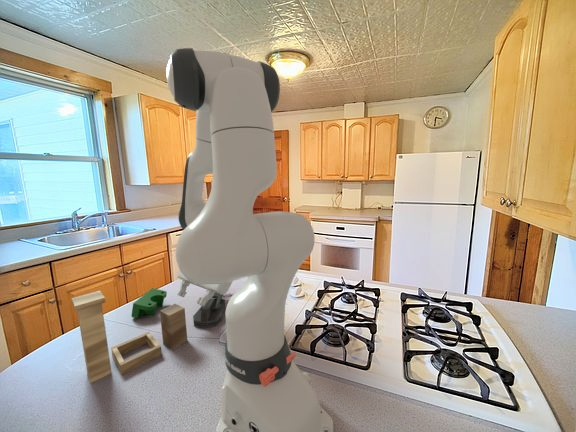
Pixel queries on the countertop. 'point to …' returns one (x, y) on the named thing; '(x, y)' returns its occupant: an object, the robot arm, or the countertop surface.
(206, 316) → the zipper pull
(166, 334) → the wooden block
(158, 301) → the clamp
